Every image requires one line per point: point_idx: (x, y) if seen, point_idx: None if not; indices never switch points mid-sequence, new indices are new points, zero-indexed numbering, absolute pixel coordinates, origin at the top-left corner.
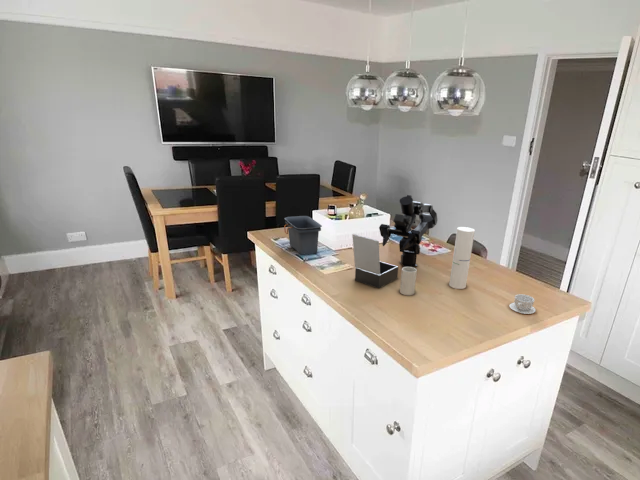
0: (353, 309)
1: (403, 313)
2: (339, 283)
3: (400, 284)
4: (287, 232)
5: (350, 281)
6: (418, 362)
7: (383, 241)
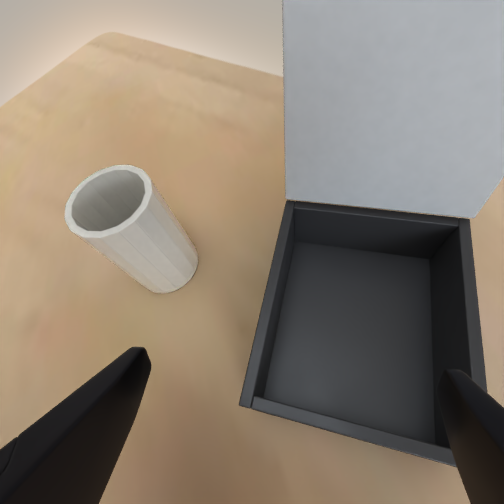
0: None
1: (154, 133)
2: None
3: (184, 231)
4: None
5: None
6: (107, 33)
7: (498, 415)
